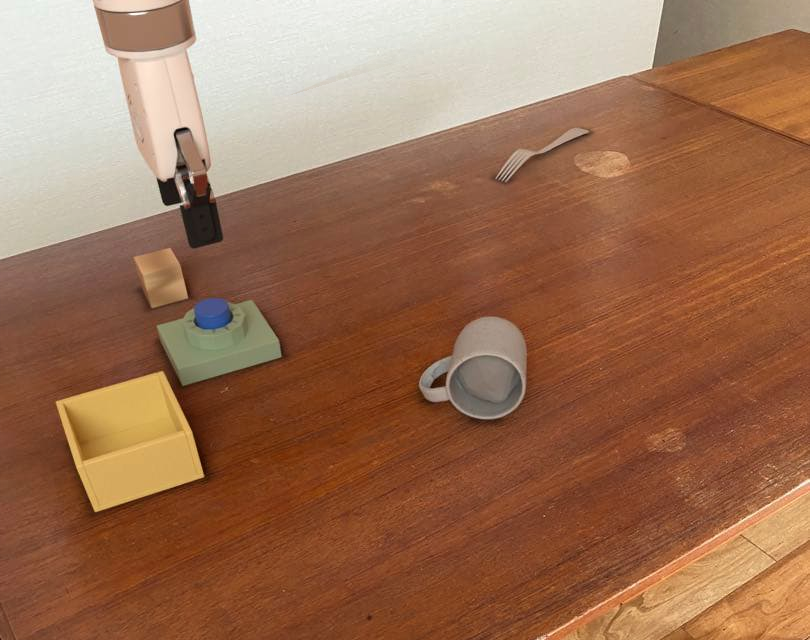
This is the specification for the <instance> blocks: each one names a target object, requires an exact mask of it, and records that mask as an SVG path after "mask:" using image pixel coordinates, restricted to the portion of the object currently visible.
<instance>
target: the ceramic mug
mask: <svg viewBox="0 0 810 640" xmlns="http://www.w3.org/2000/svg"><path fill="white" fill-rule="evenodd" d="M452 350H453V352H452V354H451V355H449V356H447V357H444V358H442V359H439V360H437V361H435V362H433V364H431V365H430V366H428V368H427V369H426V370H424V371H423V373H422V375H421V376H420V378H419V381H418V388H419V390H420V392H421V394H422V395H423V397H424V399H426V400H427V401H428V402H432V403H441V402H448V401H450V403H451V404H452V406H454V407H455V408H456V409H457V411H459V412H460V413H463V415H466V416H468V417H471V418H474V419H478V420H479V419H480V420H495V419H496V420H497V419H500V418H503V417H505V416H507V415H509V414H511V413H512V412H513V411H515V410H516V409H517V408H518V407H519V406H520V404H521V403H522V401H523V400H524V398H525V395H526V391H527V368H528V367H527V361H528V360H527V359H528V351H527V350H528V349H527V344H526V340H525V337H524V334H523V333H522V331H521V330H520V329H519V327H518V326H517V325H516V324H515V323H513V322H512V321H510V320H508V319H507V318H504V317H500V316H496V315H485V316H480V317H477V318H476V319H474V320H471V321H470V322H468V324H467V325H465V326H464V328H462V330H461V331H460V333H459V334H458V336H457V338H456V340H455V343H454V346H453V349H452ZM444 374H446V377H445V386H441V387H433V388H431V387H432V384H433V383H434V382H435V380H436V379H438V378H439V377H440V376H442V375H444Z"/></svg>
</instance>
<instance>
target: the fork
mask: <svg viewBox="0 0 810 640" xmlns="http://www.w3.org/2000/svg"><path fill="white" fill-rule="evenodd" d="M589 133H590V131H589V130H588V129H584V128H581V127H573V128H570V129H568V130H567V131H566V132H564V133H562V135H560V136H559V137H558V138H557V139H555V140H553V142H551V143H549V144H548V145H546V146H545V147H543V148H541V149H538V150H536V151H534V150H530V149H526V148H518V149H516V150H515V151H514V152H513V153H512V154H511V155H510V156H509V157H508V159H507V160H506V161H505V163H504V165H503V166H502V168H501V169H500V171H499V172H498V174H497V175H496V177H495V180H497V179H498V181H500V180H501V182H503V181H504V183H507V182H508V181H509V180H510V178H511V177H512V176H513V175H514V174H515V173H516V171H518V170H519V168H520V167H521V166H522V165H523V164H525V162H526V161H527V160H529V158H531V157H532V156H537V155H541V154H544V153H547V152H549V151H550V150H552V149H554V148H556V147H558V146H560V145H562V144H564V143H566V142H569V141H571V140H574V139H576V138H578V137H581V136H583V135H587V134H589ZM508 175H509V176H508ZM499 176H500V177H499ZM507 176H508V177H507ZM498 177H499V178H498ZM505 179H506V180H505Z"/></svg>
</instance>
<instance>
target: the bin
mask: <svg viewBox="0 0 810 640" xmlns="http://www.w3.org/2000/svg"><path fill="white" fill-rule="evenodd" d="M55 405H56V409H57V411H58V414H59V418H60V421H61V424H62V426H63V430H64V433H65V436H66V439H67V442H68V446H69V449H70V452H71V456H72V458H73V461H74V465H75V468H76V470H77V472H78V473H77V474H78V475H79V478H80V480H81V482H82V485H83V487H84V489H85V492H86V494H87V497H88V499H89V502H90V505H91V506H92V508H93V511H94V513H97V512H100V511H103V510H107V509H110V508H112V507H116V506H120V505H122V504H126V503H128V502H131V501H134V500H138V499H141V498H144V497H147V496H150V495H153V494H156V493H159V492H162V491H166V490H168V489H173V488H174V487H177V486H181V485H184V484H187V483H191V482H194V481H196V480H199V479H203V478H205V474H204V471H203V466H202V463H201V459H200V456H199V455H200V454H199V452H198V448H197V443H196V440H195V437H194V432H193V430H192V429H191V427H190V425H189V422H188V420H187V418H186V416H185V414H184V412H183V409H182V408H181V405H180V404H179V401H178V399H177V396H176V395H175V393H174V391H173V389H172V386H171V384H170V382H169V380H168V377H167V375H166V373H165V372H164V371H163V370H161V371H158V372H153V373H150V374H147V375H143V376H139V377H136V378H132V379H129V380H126V381H122V382H119V383H115V384H111V385H108V386H104V387H101V388H97V389H93V390H90V391H87V392H84V393H81V394H80V393H79V394H76V395H73V396H70V397H65V398H63V399H60V400H56V401H55Z"/></svg>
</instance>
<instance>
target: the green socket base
mask: <svg viewBox="0 0 810 640" xmlns="http://www.w3.org/2000/svg"><path fill="white" fill-rule="evenodd" d="M226 302H227V303H228V305H229V310H230V315H231V322H230V323H229V324H227V325H226V326H225V327H221V328H218V329H214V330H212V329H202V328H200V327H199V326H198V325H197V321H196V317H195V312H194V307H193V308H192V309H190V310H188V311H187V312H186V313H185V314H184V316H183V317H182V318H178V319H175V320H171V321H168V322H164V323H161V324H157V325H156V329H157V335H158V338H159V340H160V343H161V345H162V347H163V349H164V352H165V354H166V356H167V358H168V359H169V362H170V364H171V366H172V367H173V370H174V371H175V374H176V376H177V378H178V381H179V382H180V384H181V386H182V387H184V386H188V385H191V384H194V383H197V382H201V381H204V380H208V379H212V378H215V377H218V376H221V375H225V374H228V373H232V372H236V371H239V370H242V369H243V370H244V369H246V368H250V367H252V366H255V365H256V366H257V365H259V364H263V363H266V362H271V361H273V360H277V359H279V358H282V349H281V344H280V340H279V338H278V336H277V335H276V334H275V332H274V331H273V329H272V328H271V326H270V325H269V323H268V321H267V320H266V318H265V317H264V315H263V314H262V312H261V310H260V309H259V308H258V306H257V305H256V303H255V301H254V300H253V299H250V300H245V301H243V302H238V303H235V304H234V303H233V302H230V301H226Z"/></svg>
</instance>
